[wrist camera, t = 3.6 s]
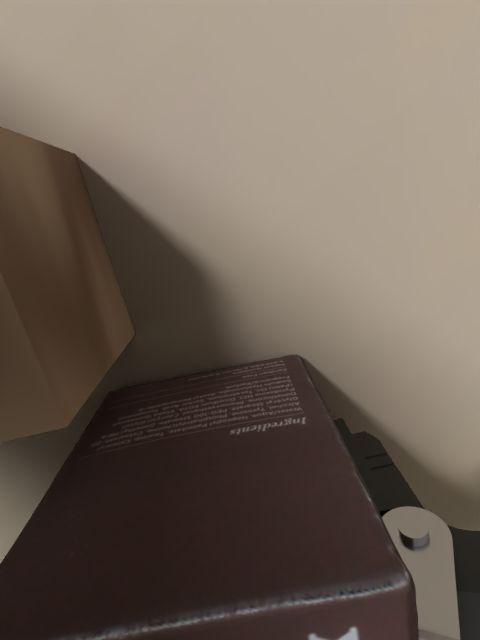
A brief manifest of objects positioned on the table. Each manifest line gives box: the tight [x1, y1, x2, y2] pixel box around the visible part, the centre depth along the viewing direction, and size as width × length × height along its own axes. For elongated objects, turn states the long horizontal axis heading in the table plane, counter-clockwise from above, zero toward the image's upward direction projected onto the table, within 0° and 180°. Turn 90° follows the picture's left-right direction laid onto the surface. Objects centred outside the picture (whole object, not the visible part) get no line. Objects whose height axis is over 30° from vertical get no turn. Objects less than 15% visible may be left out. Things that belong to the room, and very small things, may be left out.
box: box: [0, 355, 419, 640], centre depth 9 cm, size 6×6×7 cm
